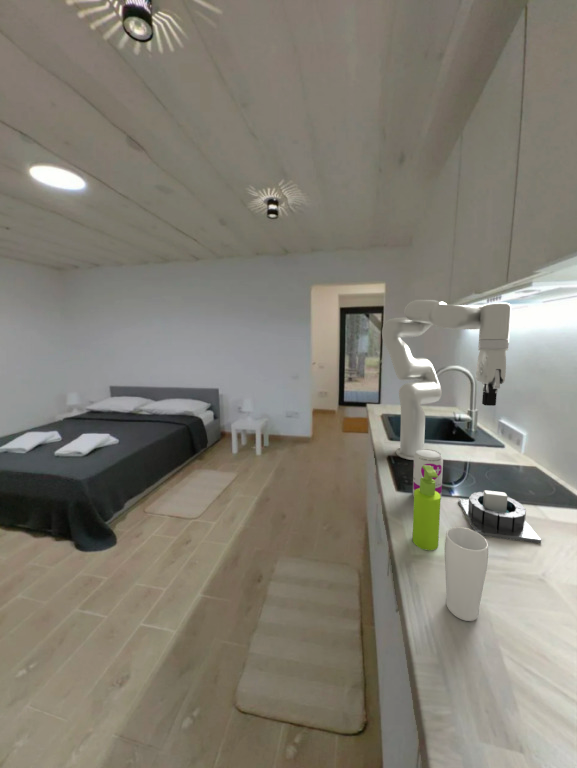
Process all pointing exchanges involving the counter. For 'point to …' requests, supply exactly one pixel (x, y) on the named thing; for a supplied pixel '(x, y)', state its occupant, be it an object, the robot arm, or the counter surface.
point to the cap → (495, 501)
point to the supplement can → (432, 460)
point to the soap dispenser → (426, 512)
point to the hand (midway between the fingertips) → (488, 404)
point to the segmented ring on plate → (498, 520)
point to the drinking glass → (465, 571)
